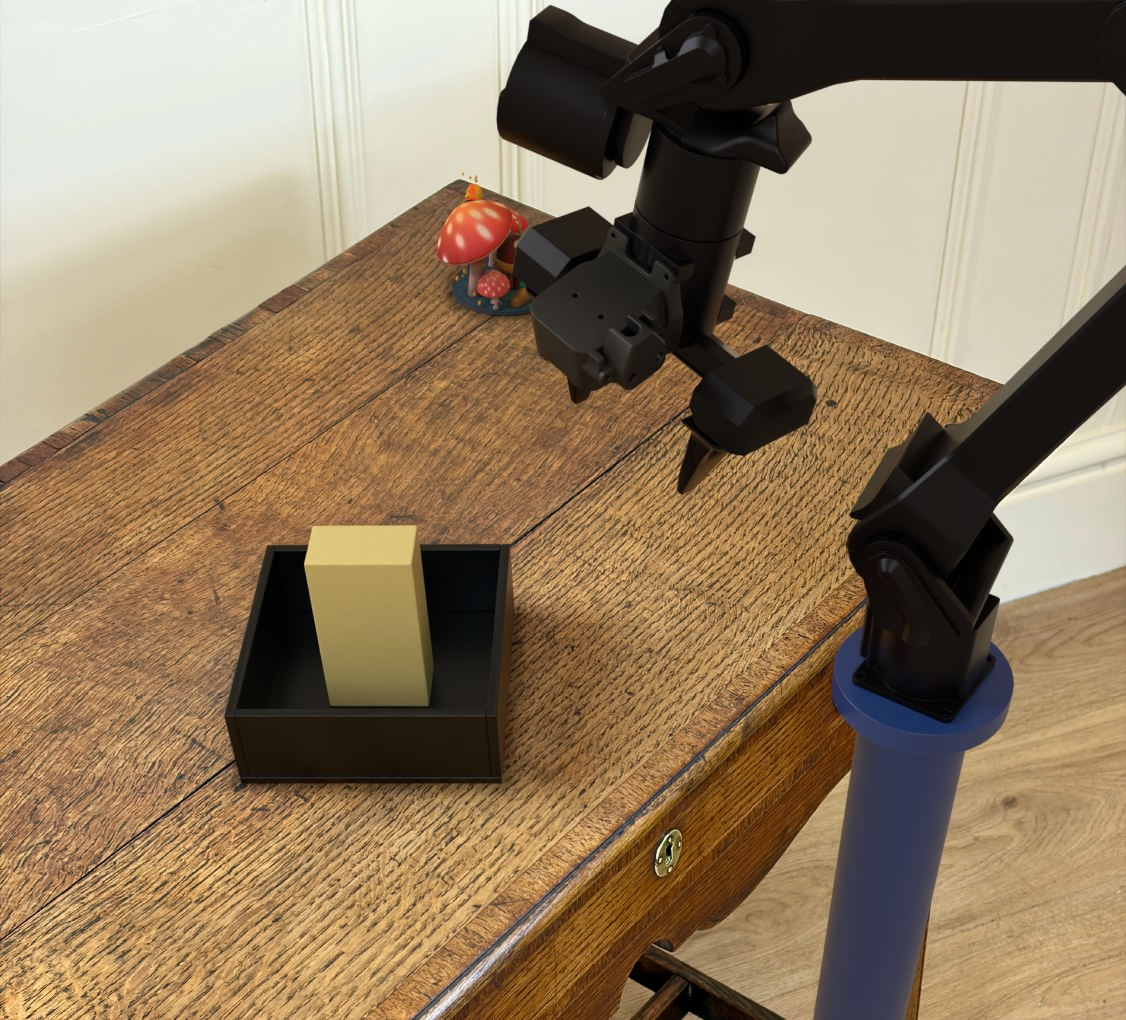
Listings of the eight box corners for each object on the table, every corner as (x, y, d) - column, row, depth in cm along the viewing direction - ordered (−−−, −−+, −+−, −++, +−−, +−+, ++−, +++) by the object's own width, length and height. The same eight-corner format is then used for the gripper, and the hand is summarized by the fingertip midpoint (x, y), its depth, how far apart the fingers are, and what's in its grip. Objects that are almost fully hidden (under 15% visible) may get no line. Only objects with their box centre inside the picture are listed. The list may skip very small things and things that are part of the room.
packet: (337, 667, 97) (312, 525, 90) (434, 667, 97) (417, 524, 89) (330, 706, 95) (303, 564, 87) (429, 706, 95) (411, 564, 87)
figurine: (542, 330, 125) (538, 230, 119) (430, 317, 127) (420, 218, 121) (578, 256, 133) (576, 159, 127) (472, 245, 135) (465, 149, 129)
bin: (514, 611, 101) (510, 543, 97) (502, 783, 91) (496, 715, 87) (280, 611, 102) (266, 544, 98) (240, 783, 91) (223, 716, 87)
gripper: (453, 157, 80) (424, 400, 92) (707, 361, 73) (640, 596, 85) (611, 106, 86) (565, 341, 98) (862, 290, 78) (778, 520, 90)
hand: (630, 445), depth 92 cm, fingers open, 9 cm apart
